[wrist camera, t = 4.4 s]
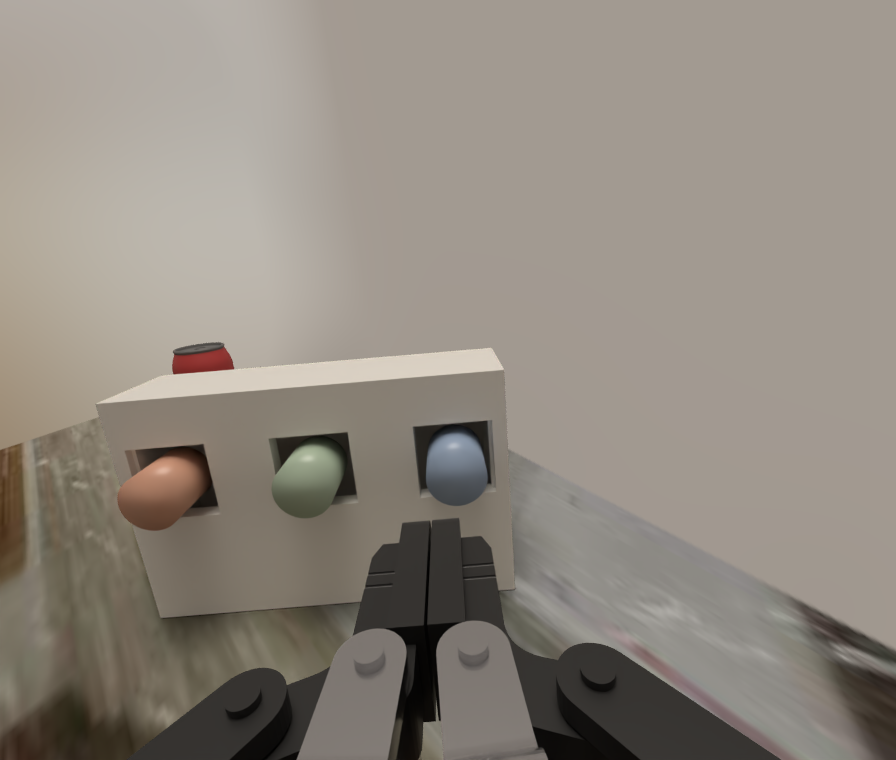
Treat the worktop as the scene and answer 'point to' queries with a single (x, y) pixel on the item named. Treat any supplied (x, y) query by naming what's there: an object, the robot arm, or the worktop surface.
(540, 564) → the worktop surface
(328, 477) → the sage button
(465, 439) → the blue button
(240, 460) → the console
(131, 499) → the terracotta button
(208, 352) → the beer can
